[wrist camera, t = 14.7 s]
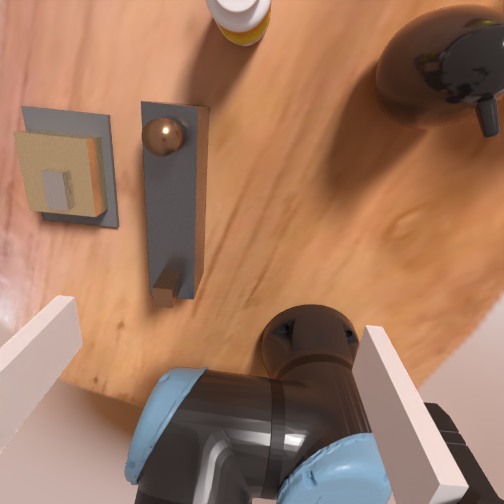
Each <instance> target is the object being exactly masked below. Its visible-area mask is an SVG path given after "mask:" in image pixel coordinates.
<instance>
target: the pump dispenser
mask: <svg viewBox="0 0 504 504" xmlns="http://www.w3.org/2000/svg"><path fill="white" fill-rule="evenodd" d="M375 90H376V96H377V100H378V103H379V105H380V107H381V109H382V111H383V112H384V114H385V115H386V116H387V117H388V118H389V119H390V120H391V121H393V122H394V123H396V124H398V125H400V126H402V127H405V128H410V129H420V130H421V129H433V128H440V127H445V126H449V125H453V124H456V123H459V122H462V121H464V120H467V119H469V118H471V117H473V116H475V115H477V119H478V122H479V125H480V128H481V132H482V135H483V137H484V138H486V139H490V138H493V137H496V136H498V135H499V134H500V124H499V114H498V104H497V102H498V101H499V100H501V99H502V98H503V97H504V10H501V9H498V8H494V7H490V6H485V5H476V4H463V5H454V6H449V7H444V8H440V9H436V10H433V11H430V12H427V13H425V14H423V15H421V16H419V17H417V18H415V19H413V20H412V21H410V22H409V23H407V24H406V25H405V26H403V27H402V28H401V29H400V30H399V31H398V32H397V33H396V34H395V35H394V36H393V37H392V39H391V40H390V41H389V43H388V44H387V46H386V47H385V49H384V51H383V53H382V55H381V57H380V60H379V63H378V66H377V71H376V77H375Z"/></svg>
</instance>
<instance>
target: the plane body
mask: <svg viewBox="0 0 504 504" xmlns="http://www.w3.org/2000/svg"><path fill="white" fill-rule="evenodd" d="M141 115H142V141H143V157H144V178H145V199H146V220H147V241H148V262H149V283H150V295H152V300H153V306H156V307H167V308H173V306H174V303H175V301H176V299H177V298H184V299H194V298H195V295H196V292H197V289H198V287H199V284H200V281H201V278H202V275H203V271H204V242H205V213H206V185H207V156H208V127H209V107H204V106H194V105H185V104H175V103H166V102H148V101H141Z"/></svg>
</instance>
